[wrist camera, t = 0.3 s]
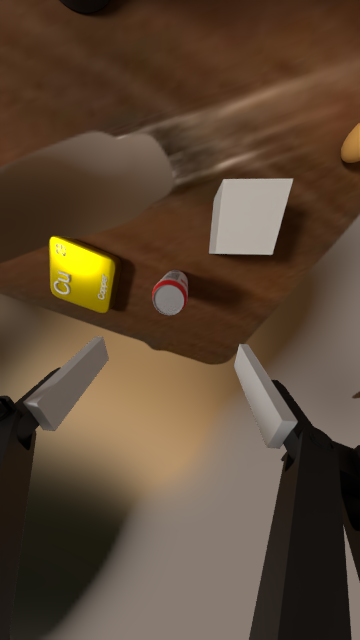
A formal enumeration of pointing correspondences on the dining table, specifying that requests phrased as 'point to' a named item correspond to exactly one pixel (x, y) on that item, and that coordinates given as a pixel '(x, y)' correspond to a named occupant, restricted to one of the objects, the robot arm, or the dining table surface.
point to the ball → (351, 146)
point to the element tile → (83, 274)
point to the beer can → (171, 293)
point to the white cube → (248, 215)
